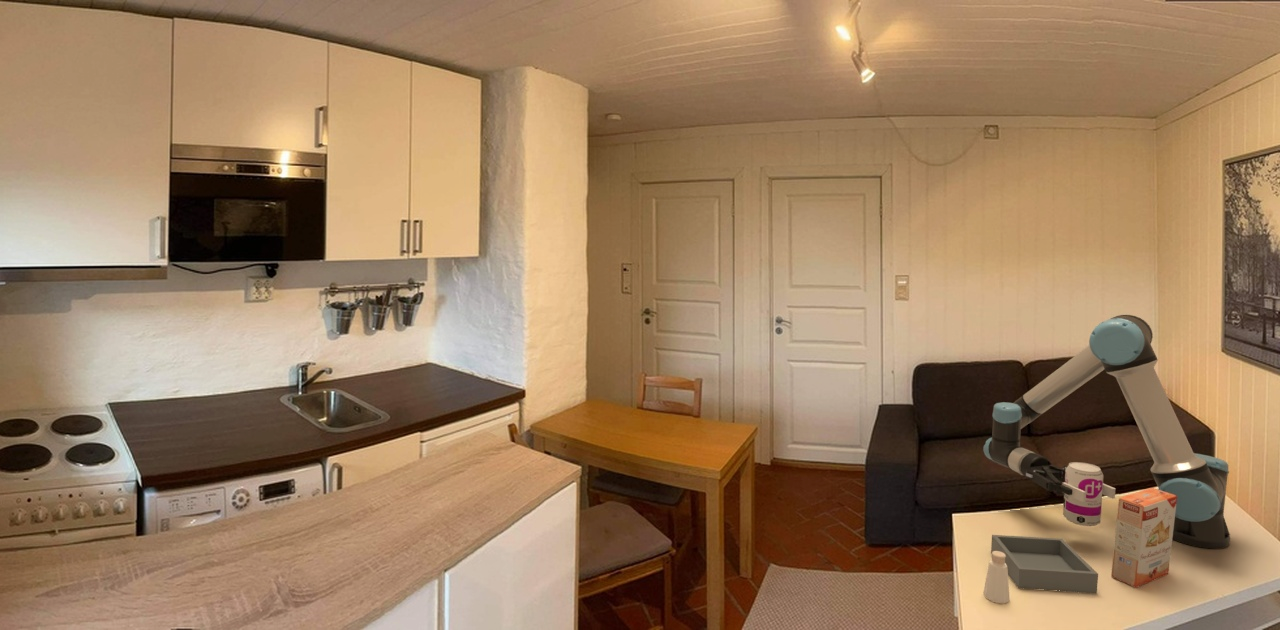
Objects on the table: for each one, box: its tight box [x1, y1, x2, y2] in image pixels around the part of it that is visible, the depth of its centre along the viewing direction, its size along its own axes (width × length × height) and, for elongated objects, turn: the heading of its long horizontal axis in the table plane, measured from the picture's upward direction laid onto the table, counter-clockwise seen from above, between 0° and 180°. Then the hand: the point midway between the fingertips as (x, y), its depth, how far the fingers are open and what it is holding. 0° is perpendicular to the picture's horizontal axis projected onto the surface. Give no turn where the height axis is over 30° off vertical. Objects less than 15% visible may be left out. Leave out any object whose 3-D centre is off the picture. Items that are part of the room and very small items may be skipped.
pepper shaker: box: [983, 551, 1011, 605], centre depth 145 cm, size 5×5×11 cm
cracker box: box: [1111, 487, 1177, 588], centre depth 151 cm, size 14×6×21 cm, turn 114°
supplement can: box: [1062, 461, 1104, 527], centre depth 165 cm, size 8×8×15 cm
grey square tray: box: [990, 534, 1099, 595], centre depth 155 cm, size 17×17×5 cm
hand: (1099, 495), depth 161 cm, fingers closed on supplement can, 8 cm apart
